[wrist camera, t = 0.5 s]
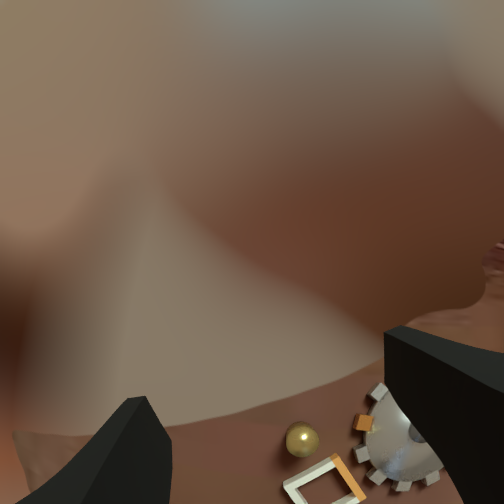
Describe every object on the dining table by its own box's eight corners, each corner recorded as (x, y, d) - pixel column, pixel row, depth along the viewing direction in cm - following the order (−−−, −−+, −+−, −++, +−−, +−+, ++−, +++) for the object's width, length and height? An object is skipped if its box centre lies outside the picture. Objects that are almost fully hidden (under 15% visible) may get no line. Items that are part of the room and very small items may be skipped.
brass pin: (318, 437, 30) (325, 446, 25) (294, 451, 29) (296, 462, 24) (305, 416, 31) (309, 421, 26) (281, 430, 31) (280, 437, 25)
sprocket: (490, 421, 26) (510, 421, 22) (388, 509, 24) (401, 522, 19) (438, 331, 33) (455, 322, 29) (327, 416, 31) (333, 419, 26)
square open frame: (362, 492, 26) (366, 497, 24) (311, 520, 25) (312, 527, 23) (335, 452, 29) (338, 456, 27) (283, 481, 28) (283, 486, 26)
